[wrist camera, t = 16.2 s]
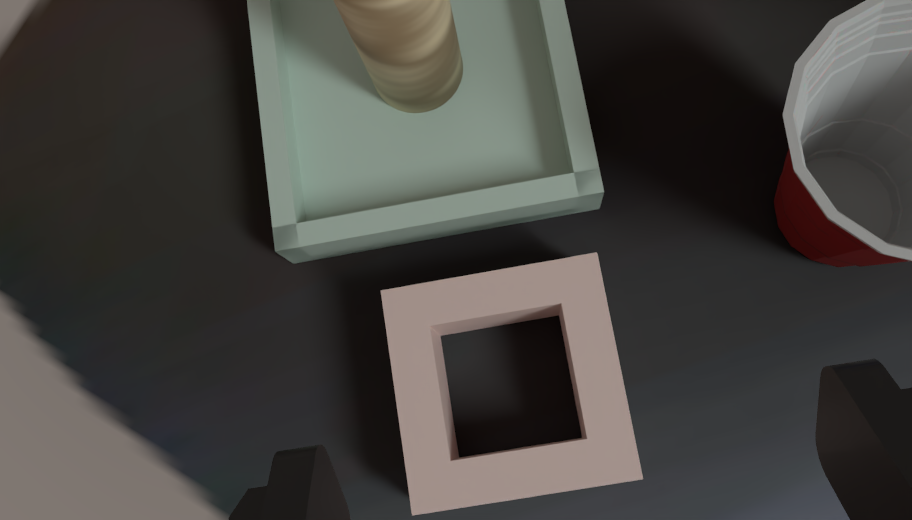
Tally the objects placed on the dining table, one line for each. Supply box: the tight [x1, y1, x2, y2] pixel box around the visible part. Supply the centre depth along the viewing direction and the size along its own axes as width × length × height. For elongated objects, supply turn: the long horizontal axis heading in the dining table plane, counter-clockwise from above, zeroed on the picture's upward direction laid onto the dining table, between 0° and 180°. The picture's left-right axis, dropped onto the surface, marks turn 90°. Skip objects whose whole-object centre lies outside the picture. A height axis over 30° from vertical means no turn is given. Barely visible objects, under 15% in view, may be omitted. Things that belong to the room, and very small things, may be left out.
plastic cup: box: [774, 0, 912, 267], centre depth 34 cm, size 11×11×12 cm
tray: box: [247, 0, 604, 264], centre depth 42 cm, size 16×18×3 cm
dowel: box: [333, 0, 463, 113], centre depth 36 cm, size 5×5×12 cm
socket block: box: [381, 252, 643, 515], centre depth 37 cm, size 10×10×4 cm
